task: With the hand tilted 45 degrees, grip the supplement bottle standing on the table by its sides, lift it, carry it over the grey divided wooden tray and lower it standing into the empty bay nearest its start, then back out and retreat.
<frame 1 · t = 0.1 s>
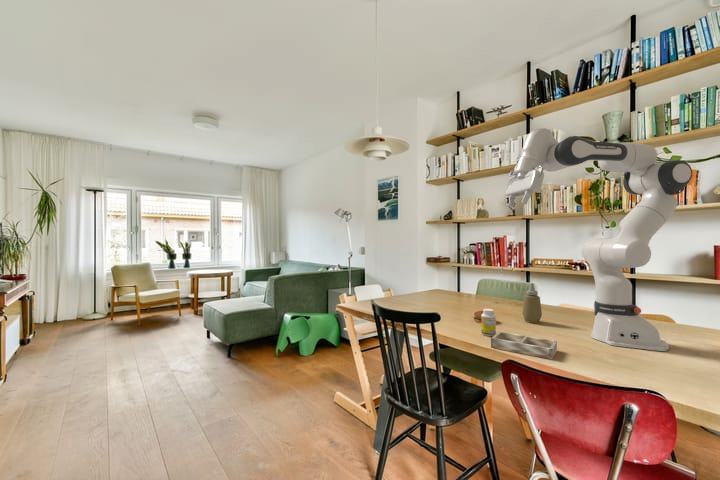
hand: (516, 205, 123), 52 cm above the table, tool tilted 20°, fingers open, 8 cm apart
squeeze bottle: (532, 322, 151), on the table
grey divided wooden tray: (523, 348, 115), on the table
burger: (484, 322, 153), on the table
supplement bottle: (488, 335, 132), on the table
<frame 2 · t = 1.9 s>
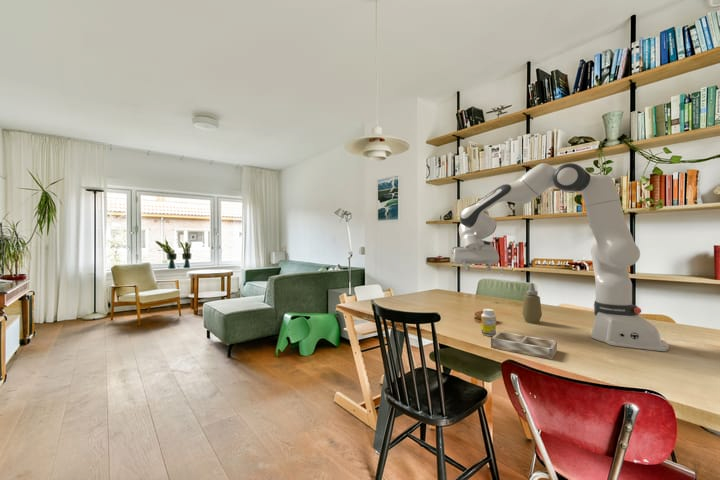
hand: (478, 269, 144), 25 cm above the table, tool tilted 45°, fingers open, 8 cm apart
nothing on the table moved.
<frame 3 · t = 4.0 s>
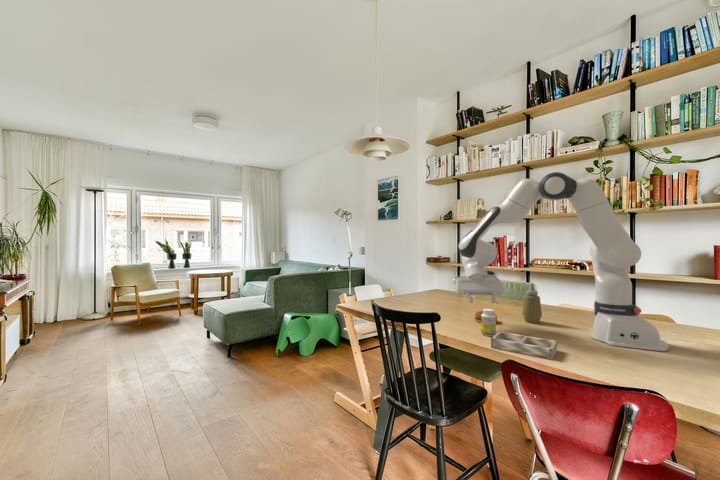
hand: (482, 302, 140), 12 cm above the table, tool tilted 45°, fingers open, 8 cm apart
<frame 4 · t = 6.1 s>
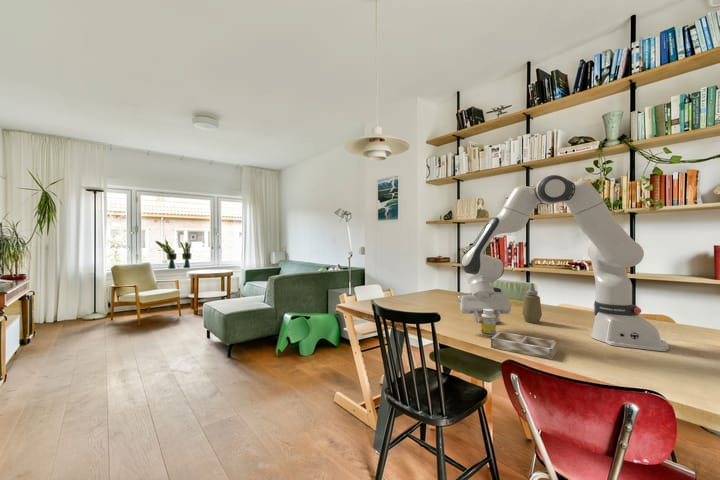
hand: (489, 321, 131), 5 cm above the table, tool tilted 45°, fingers closed on supplement bottle, 6 cm apart
supplement bottle: (488, 335, 132), on the table, touching gripper
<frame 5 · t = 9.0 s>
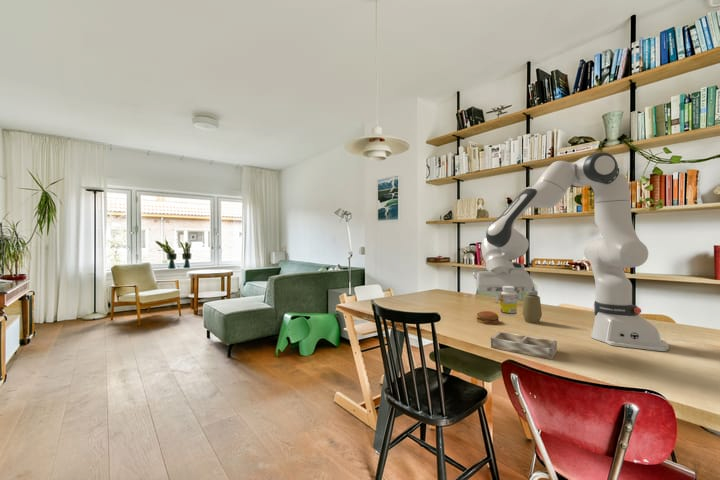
hand: (509, 299, 118), 17 cm above the table, tool tilted 45°, fingers closed on supplement bottle, 5 cm apart
supplement bottle: (508, 314, 118), point 11 cm above the table, touching gripper
when the fingers open (8 cm above the table, at t = 11.9 s): supplement bottle drops 1 cm, resting on grey divided wooden tray.
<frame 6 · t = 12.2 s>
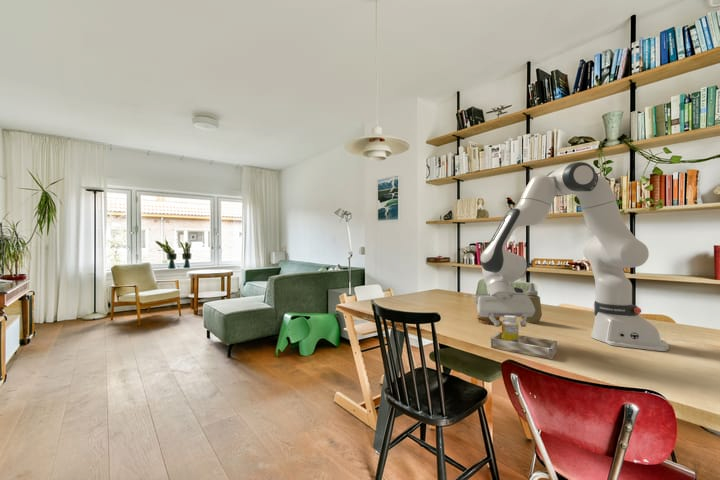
hand: (510, 325, 117), 8 cm above the table, tool tilted 45°, fingers open, 8 cm apart
supplement bottle: (510, 344, 118), point 1 cm above the table, touching grey divided wooden tray
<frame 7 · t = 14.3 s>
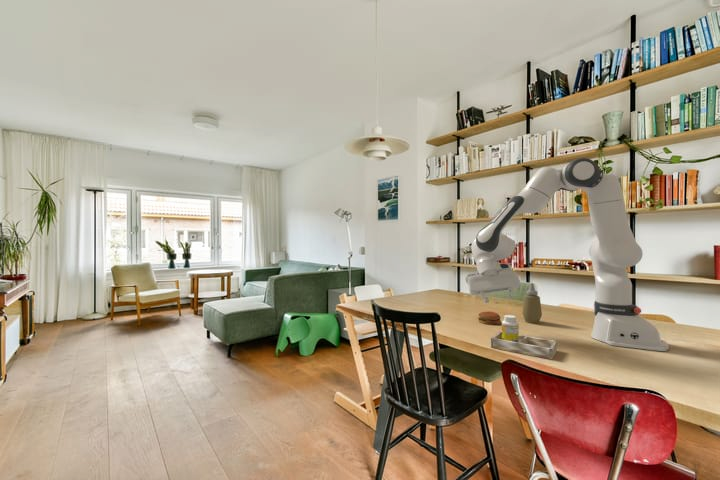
hand: (498, 300, 131), 14 cm above the table, tool tilted 40°, fingers open, 8 cm apart
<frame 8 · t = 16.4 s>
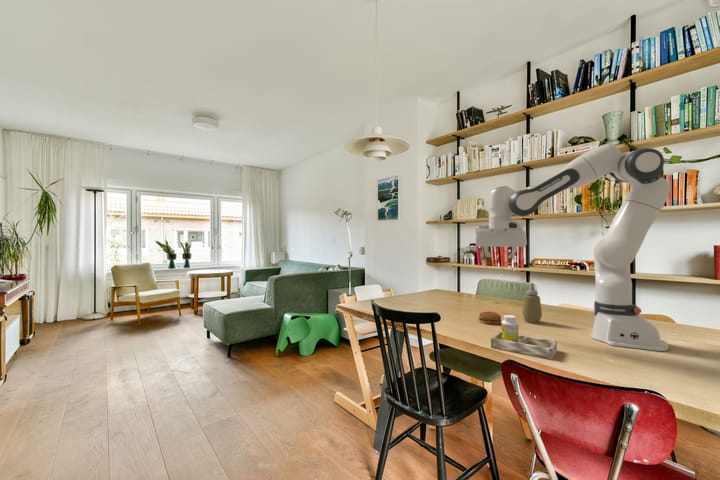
hand: (500, 257, 138), 31 cm above the table, tool pointing down, fingers open, 8 cm apart
at the end: supplement bottle 0.0 cm from the target spot on the grey divided wooden tray, point 0.6 cm above the grey divided wooden tray's base; supplement bottle tilted 0°; the gripper is holding nothing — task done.
